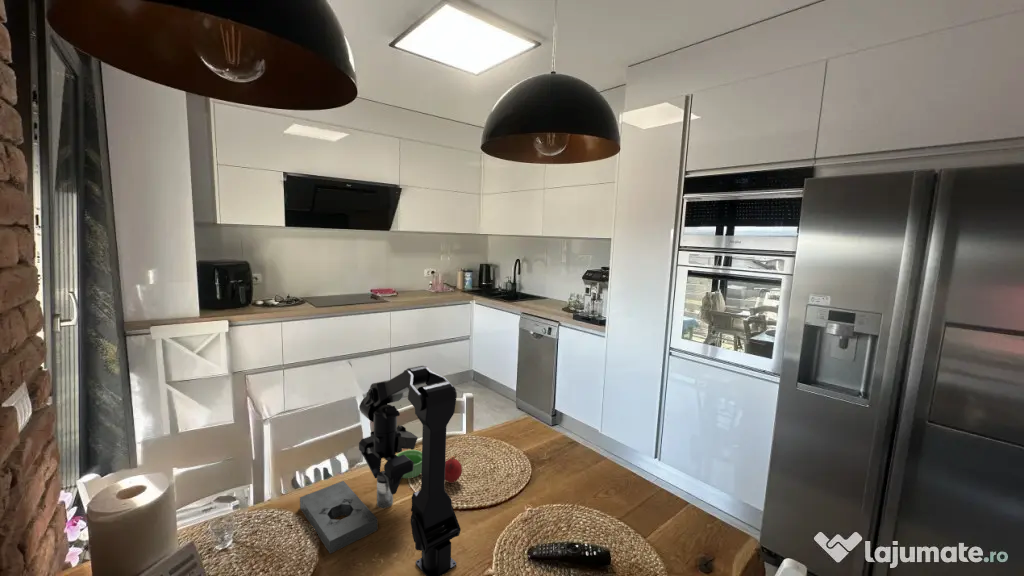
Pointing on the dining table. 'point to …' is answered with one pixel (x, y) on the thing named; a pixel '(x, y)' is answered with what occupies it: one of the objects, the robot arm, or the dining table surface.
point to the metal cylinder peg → (383, 492)
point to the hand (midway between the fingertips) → (385, 485)
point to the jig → (333, 504)
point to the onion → (452, 470)
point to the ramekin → (416, 458)
